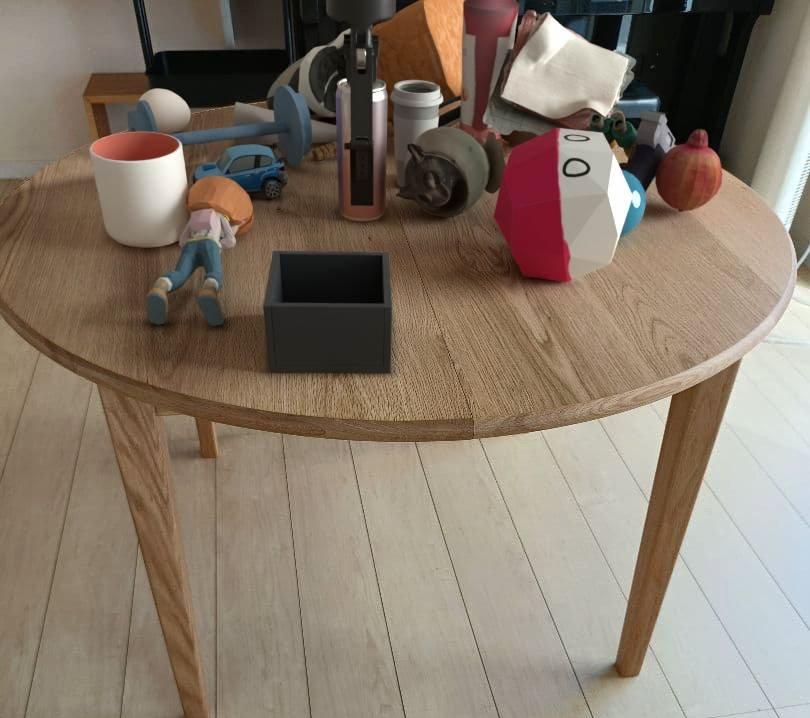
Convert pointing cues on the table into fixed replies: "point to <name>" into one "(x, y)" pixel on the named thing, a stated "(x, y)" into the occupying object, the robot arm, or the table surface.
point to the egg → (167, 110)
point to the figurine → (204, 245)
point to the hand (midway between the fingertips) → (362, 188)
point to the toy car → (250, 168)
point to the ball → (634, 204)
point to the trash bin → (328, 312)
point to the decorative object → (562, 204)
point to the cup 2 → (413, 116)
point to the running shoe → (316, 78)
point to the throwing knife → (444, 121)
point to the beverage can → (379, 152)
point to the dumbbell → (287, 125)
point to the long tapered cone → (256, 115)
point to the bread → (422, 47)
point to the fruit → (689, 174)
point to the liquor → (483, 58)
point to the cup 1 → (141, 187)
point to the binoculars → (616, 133)
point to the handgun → (650, 147)
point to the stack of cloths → (555, 80)
